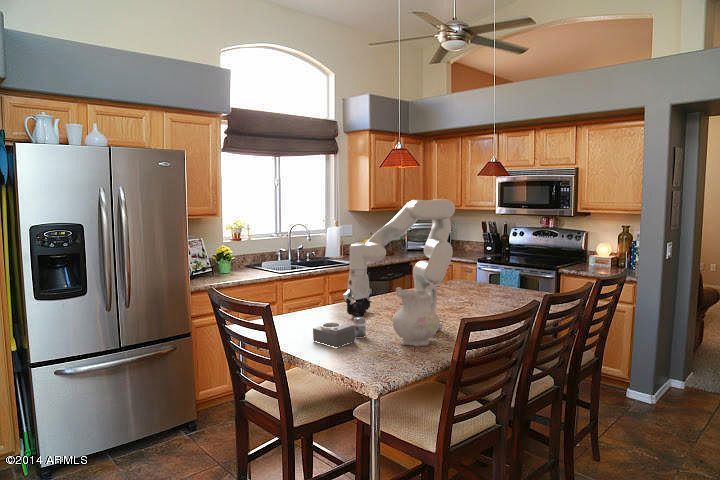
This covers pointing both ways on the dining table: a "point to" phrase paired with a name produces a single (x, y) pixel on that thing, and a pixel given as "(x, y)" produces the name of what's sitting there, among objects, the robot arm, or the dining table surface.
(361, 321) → the lens
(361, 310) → the night vision scope
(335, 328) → the grey ring-socket block
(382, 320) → the dining table surface
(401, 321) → the ceramic pitcher
